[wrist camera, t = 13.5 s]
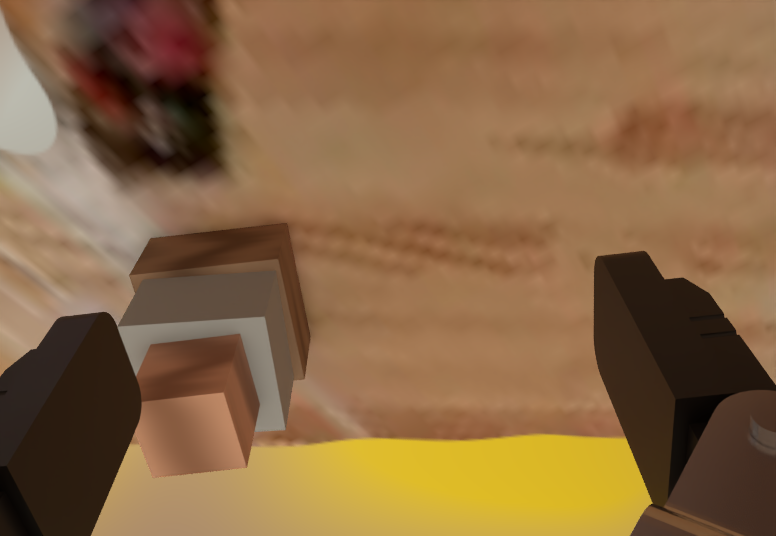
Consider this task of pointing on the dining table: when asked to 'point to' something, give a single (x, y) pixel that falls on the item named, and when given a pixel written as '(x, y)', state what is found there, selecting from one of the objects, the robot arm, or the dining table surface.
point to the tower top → (219, 328)
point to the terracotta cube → (196, 406)
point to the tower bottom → (235, 270)
